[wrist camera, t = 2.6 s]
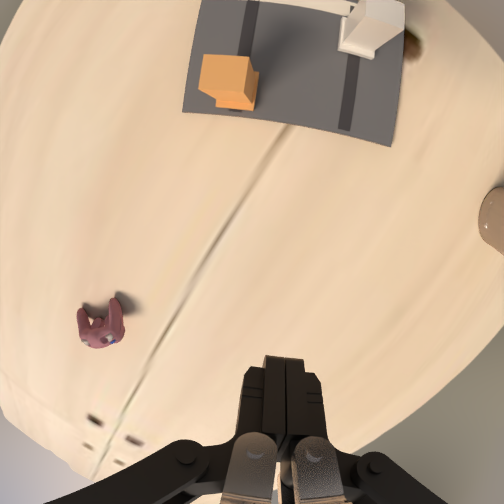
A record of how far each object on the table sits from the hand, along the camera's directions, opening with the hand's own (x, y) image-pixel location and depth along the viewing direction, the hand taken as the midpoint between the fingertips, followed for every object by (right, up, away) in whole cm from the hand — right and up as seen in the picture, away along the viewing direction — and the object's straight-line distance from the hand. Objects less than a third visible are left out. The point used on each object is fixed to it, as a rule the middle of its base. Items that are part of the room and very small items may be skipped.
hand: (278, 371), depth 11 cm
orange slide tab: (-3, +22, +16) cm, 28 cm away
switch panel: (+4, +27, +15) cm, 31 cm away
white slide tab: (+11, +28, +13) cm, 33 cm away
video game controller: (-25, -6, +32) cm, 41 cm away
